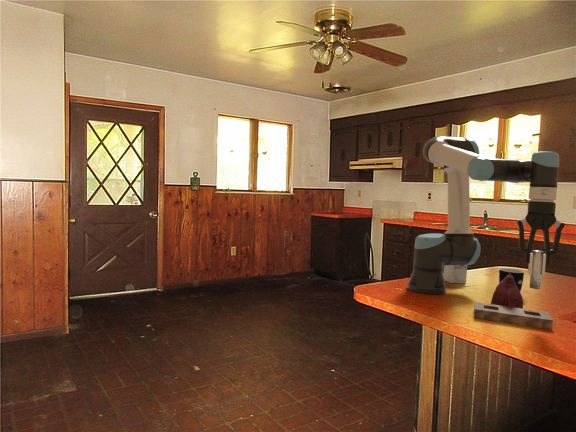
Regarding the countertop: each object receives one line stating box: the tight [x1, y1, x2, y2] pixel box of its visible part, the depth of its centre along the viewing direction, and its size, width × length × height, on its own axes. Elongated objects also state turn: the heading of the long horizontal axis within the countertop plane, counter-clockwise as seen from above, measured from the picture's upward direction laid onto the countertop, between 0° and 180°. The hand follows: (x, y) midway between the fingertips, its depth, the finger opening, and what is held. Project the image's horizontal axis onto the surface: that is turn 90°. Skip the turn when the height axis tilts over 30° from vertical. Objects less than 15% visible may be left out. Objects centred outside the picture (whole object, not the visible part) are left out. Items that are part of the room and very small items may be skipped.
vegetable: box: [490, 273, 524, 309], centre depth 149 cm, size 10×10×15 cm
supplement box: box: [443, 265, 468, 284], centre depth 193 cm, size 7×7×13 cm
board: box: [473, 301, 554, 331], centre depth 138 cm, size 22×10×3 cm, turn 67°
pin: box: [529, 249, 544, 290], centre depth 135 cm, size 3×3×12 cm
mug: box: [498, 267, 525, 292], centre depth 174 cm, size 12×9×10 cm
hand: (536, 273), depth 135 cm, fingers closed on pin, 3 cm apart
